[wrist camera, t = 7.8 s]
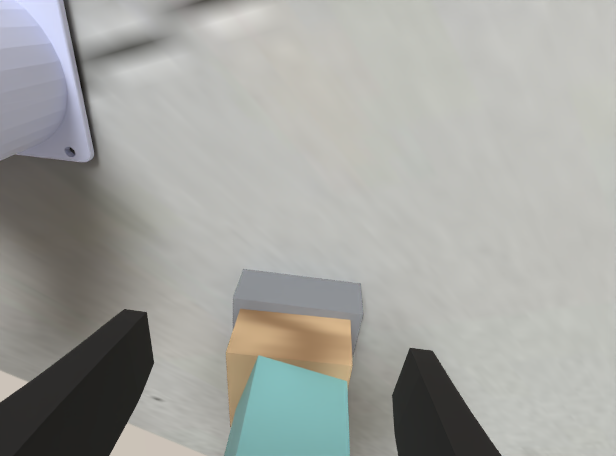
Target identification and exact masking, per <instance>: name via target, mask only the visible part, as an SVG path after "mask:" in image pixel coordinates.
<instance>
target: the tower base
mask: <svg viewBox="0 0 616 456" xmlns="http://www.w3.org/2000/svg"><path fill="white" fill-rule="evenodd" d="M240 309H248V310H258V311H268V312H278V313H288V314H298V315H308V316H317V317H327V318H337V319H347V320H350V321H351V343H352V358H353V354H354V350H355V346H356V342H357V338H358V334H359V330H360V326H361V322H362V318H363V306H362V294H361V284H360V283H352V282H344V281H335V280H327V279H319V278H311V277H303V276H295V275H287V274H279V273H271V272H263V271H255V270H247V269H243V272H242V274H241V277H240V280H239V283H238V285H237V288H236V291H235V294H234V296H233V329H234V326H235V323H236V320H237V317H238V314H239V311H240Z"/></svg>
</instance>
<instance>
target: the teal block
mask: <svg viewBox="0 0 616 456" xmlns="http://www.w3.org/2000/svg"><path fill="white" fill-rule="evenodd" d="M224 456H350V445H349V417H348V389H347V381H345V380H341V379H338V378H335V377H331V376H328V375H324V374H321V373H318V372H314V371H311V370H307V369H304V368H301V367H297V366H294V365H290V364H287V363H284V362H280V361H277V360H273V359H270V358H266V357H263V356H260V355H258V357H257V360H256V362H255V365H254V367H253V369H252V372H251V374H250V376H249V379H248V381H247V384H246V386H245V388H244V391H243V393H242V396H241V398H240V400H239V403H238V405H237V407H236V410H235V414H234V418H233V422H232V426H231V430H230V434H229V438H228V442H227V447H226V451H225V455H224Z"/></svg>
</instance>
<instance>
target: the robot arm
mask: <svg viewBox="0 0 616 456" xmlns="http://www.w3.org/2000/svg"><path fill="white" fill-rule="evenodd" d="M70 147H71V148H72V149H73V150H74V151H75V154H73V153H72V152H71V151H70ZM12 155H23V156H32V157H40V158H49V159H57V160H65V161H74V162H82V163H83V162H88V161H89V160H91V159H93V157H94V149H93V144H92V140H91V135H90V130H89V125H88V120H87V115H86V110H85V105H84V100H83V95H82V90H81V85H80V81H79V76H78V71H77V66H76V61H75V56H74V51H73V46H72V41H71V36H70V31H69V26H68V22H67V17H66V12H65V7H64V2H63V0H0V161H1V160H3V159H6V158H8V157H10V156H12ZM153 364H154V360H153V353H152V346H151V339H150V332H149V325H148V318H147V312H141V311H134V310H127V309H124V310H123V311H121V312H120V313H119V314H118V315H116V316H115V317H114V318H112V319H111V320H110V321H109V322H107V323H106V324H105V325H103V326H102V327H101V328H100V329H98V330H97V331H96V332H95V333H93V334H92V335H91V336H90V337H88V338H87V339H86V340H84V341H83V342H82V343H81V344H79V345H78V346H77V347H76V348H74V349H73V350H72V351H70V352H69V353H68V354H66V355H65V356H64V357H62V358H61V359H60V360H58V361H57V362H56V363H55V364H53V365H52V366H51V367H49V368H48V369H47V370H45V371H44V372H43V373H41V374H40V375H39V376H37V377H36V378H34V379H33V380H32V381H30V382H29V383H27V384H26V385H24V386H23V387H22V388H20V389H19V390H17V391H16V392H15V393H13V394H12V395H10V396H9V397H7V398H6V399H5V400H3V401H2V402H0V456H109V455H110V453H111V451H112V450H113V448H114V446H115V444H116V442H117V440H118V439H119V437H120V435H121V433H122V431H123V429H124V428H125V425H126V424H127V422H128V420H129V418H130V416H131V414H132V413H133V411H134V409H135V407H136V405H137V403H138V401H139V399H140V397H141V394H142V392H143V389H144V387H145V385H146V382H147V380H148V377H149V374H150V372H151V369H152V367H153ZM392 398H393V417H394V430H395V439H396V445H397V451H398V456H501V454H500V453H499V451H498V450H497V449H496V447H495V446H494V444H493V443H492V442H491V440H490V439H489V437H488V436H487V434H486V433H485V431H484V430H483V428H482V427H481V426H480V424H479V423H478V421H477V420H476V418H475V417H474V415H473V414H472V412H471V411H470V409H469V408H468V406H467V405H466V403H465V402H464V400H463V398H462V397H461V395H460V394H459V392H458V391H457V389H456V387H455V386H454V384H453V383H452V381H451V380H450V378H449V376H448V375H447V373H446V371H445V370H444V368H443V367H442V365H441V363H440V362H439V360H438V359H437V357H436V355H435V354H434V352H433V351H430V350H423V349H415V348H410V349H409V352H408V354H407V357H406V360H405V362H404V365H403V368H402V371H401V373H400V376H399V379H398V381H397V384H396V387H395V389H394V392H393V395H392Z"/></svg>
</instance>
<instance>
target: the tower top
mask: <svg viewBox="0 0 616 456" xmlns="http://www.w3.org/2000/svg"><path fill="white" fill-rule="evenodd" d="M258 355H260V356H263V357H266V358H270V359H273V360H277V361H280V362H284V363H287V364H290V365H294V366H297V367H301V368H304V369H307V370H311V371H314V372H318V373H321V374H324V375H328V376H331V377H335V378H338V379H341V380H345V381H347V389H348V386H349V381H350V376H351V371H352V366H353V365H352V343H351V321H350V320H347V319H337V318H327V317H317V316H308V315H298V314H288V313H278V312H268V311H258V310H248V309H240V311H239V314H238V317H237V320H236V323H235V326H234V329H233V332H232V335H231V338H230V341H229V344H228V347H227V351H226V364H227V380H228V397H229V413H230V427H231V426H232V422H233V418H234V414H235V410H236V407H237V405H238V403H239V400H240V398H241V396H242V393H243V391H244V388H245V386H246V384H247V381H248V379H249V376H250V374H251V372H252V369H253V367H254V365H255V362H256V360H257V357H258Z"/></svg>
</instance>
